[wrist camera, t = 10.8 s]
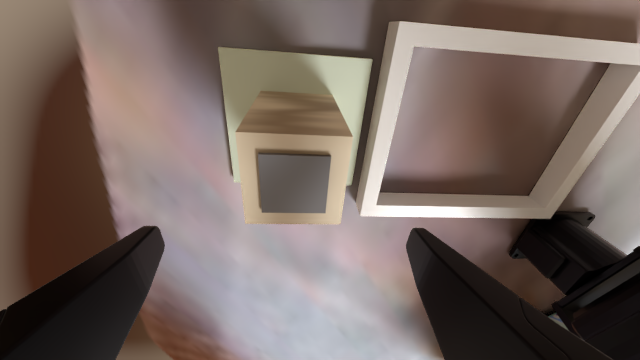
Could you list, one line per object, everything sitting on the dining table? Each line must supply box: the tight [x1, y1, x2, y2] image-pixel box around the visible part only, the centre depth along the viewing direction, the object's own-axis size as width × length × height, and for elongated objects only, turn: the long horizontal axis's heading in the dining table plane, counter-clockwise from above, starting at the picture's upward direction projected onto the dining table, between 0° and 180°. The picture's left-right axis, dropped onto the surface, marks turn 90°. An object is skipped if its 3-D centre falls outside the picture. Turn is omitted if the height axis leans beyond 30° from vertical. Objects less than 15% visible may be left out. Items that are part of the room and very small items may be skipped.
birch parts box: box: [235, 91, 353, 224], centre depth 15 cm, size 5×5×8 cm
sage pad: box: [218, 47, 373, 185], centre depth 19 cm, size 10×10×1 cm
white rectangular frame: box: [356, 21, 640, 219], centre depth 20 cm, size 18×14×2 cm
